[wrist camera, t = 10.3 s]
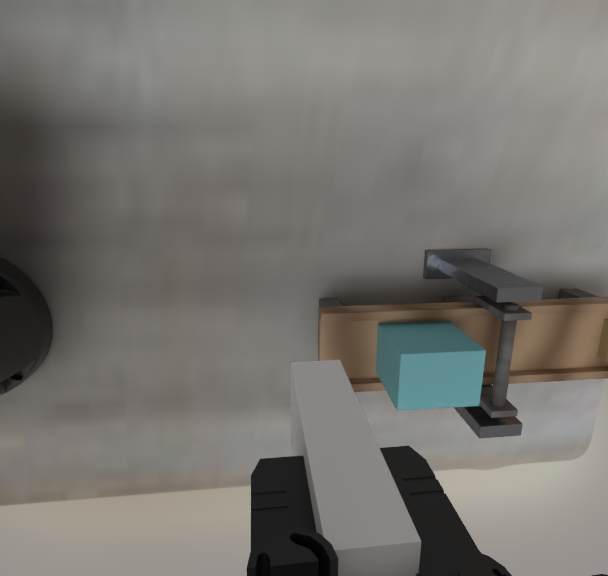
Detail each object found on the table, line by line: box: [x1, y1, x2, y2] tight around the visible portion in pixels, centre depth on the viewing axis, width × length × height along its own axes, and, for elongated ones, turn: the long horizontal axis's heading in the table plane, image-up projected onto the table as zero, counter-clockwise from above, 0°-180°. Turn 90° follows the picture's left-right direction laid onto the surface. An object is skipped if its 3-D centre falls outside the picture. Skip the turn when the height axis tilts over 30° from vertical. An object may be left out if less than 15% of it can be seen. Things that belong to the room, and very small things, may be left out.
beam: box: [318, 295, 608, 418], centre depth 43 cm, size 32×11×11 cm, turn 90°
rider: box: [376, 320, 486, 411], centre depth 38 cm, size 7×5×7 cm
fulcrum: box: [423, 249, 544, 438], centre depth 43 cm, size 7×16×12 cm, turn 0°
